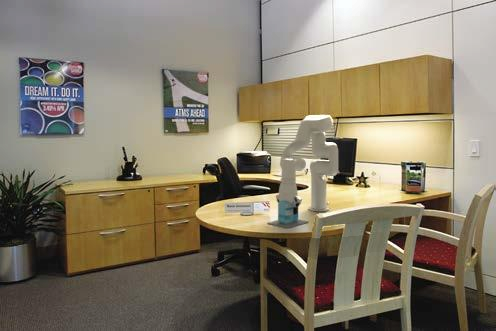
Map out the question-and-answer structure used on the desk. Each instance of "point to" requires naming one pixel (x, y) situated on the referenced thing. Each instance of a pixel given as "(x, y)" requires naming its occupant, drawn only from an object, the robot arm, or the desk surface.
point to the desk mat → (289, 225)
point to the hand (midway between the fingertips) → (288, 212)
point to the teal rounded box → (286, 212)
